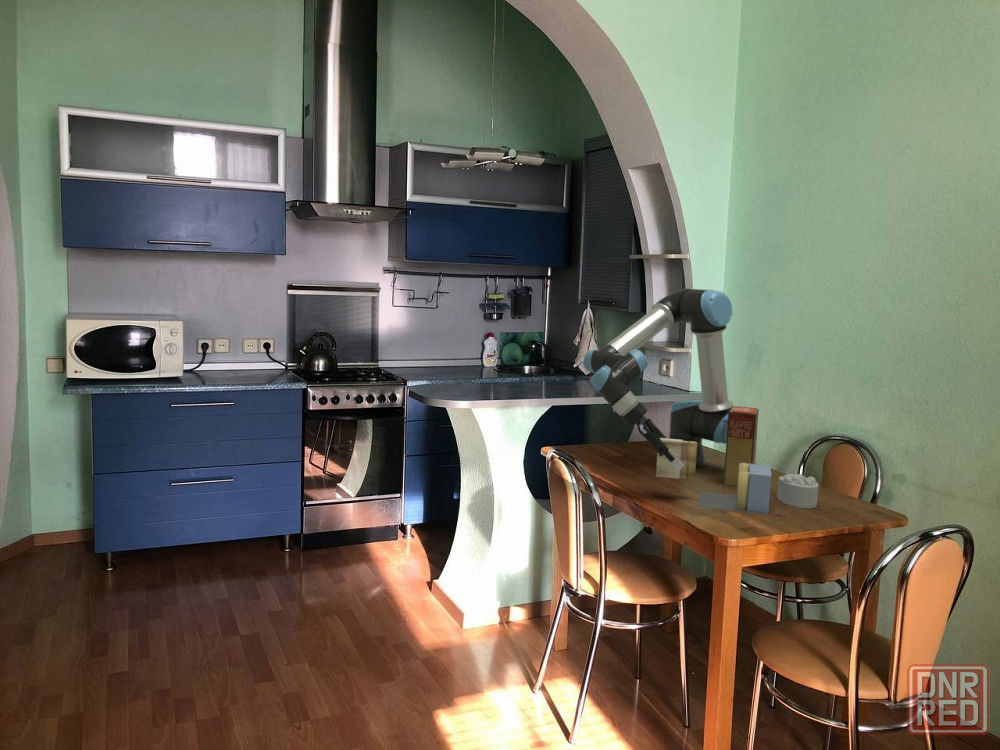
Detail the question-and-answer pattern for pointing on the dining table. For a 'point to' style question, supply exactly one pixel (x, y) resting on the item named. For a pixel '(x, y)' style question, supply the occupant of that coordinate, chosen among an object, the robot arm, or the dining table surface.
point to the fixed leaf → (753, 487)
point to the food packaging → (740, 441)
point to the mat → (721, 502)
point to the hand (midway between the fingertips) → (681, 466)
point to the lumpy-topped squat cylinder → (798, 491)
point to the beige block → (683, 452)
